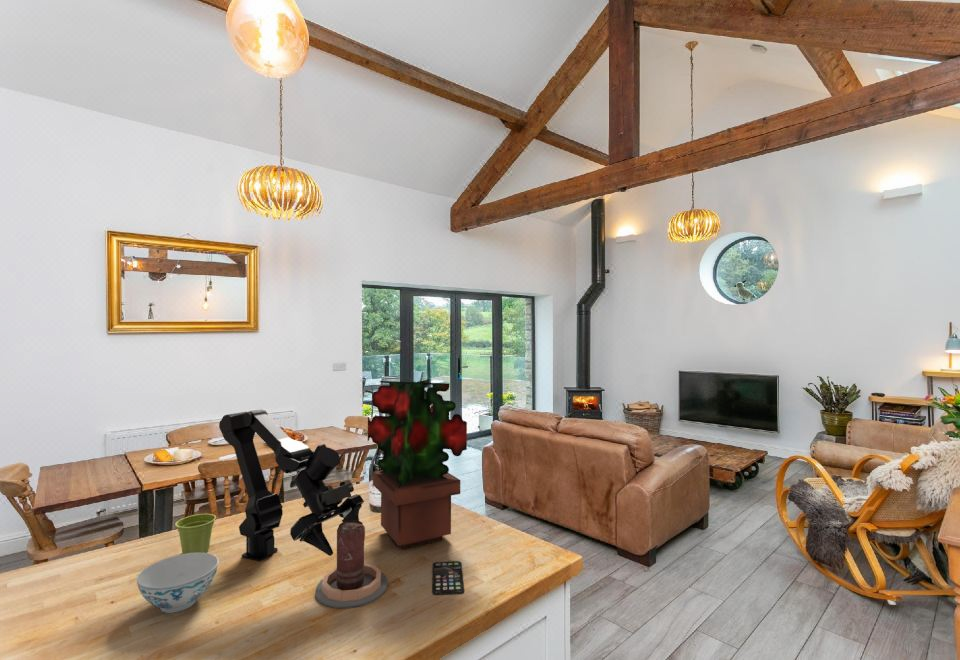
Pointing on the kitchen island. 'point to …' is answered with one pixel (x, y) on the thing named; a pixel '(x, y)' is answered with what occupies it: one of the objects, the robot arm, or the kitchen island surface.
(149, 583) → the chinaware
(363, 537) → the can
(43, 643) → the kitchen island surface
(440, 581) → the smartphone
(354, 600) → the ring tray
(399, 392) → the potted plant
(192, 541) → the plant pot
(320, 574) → the kitchen island surface
